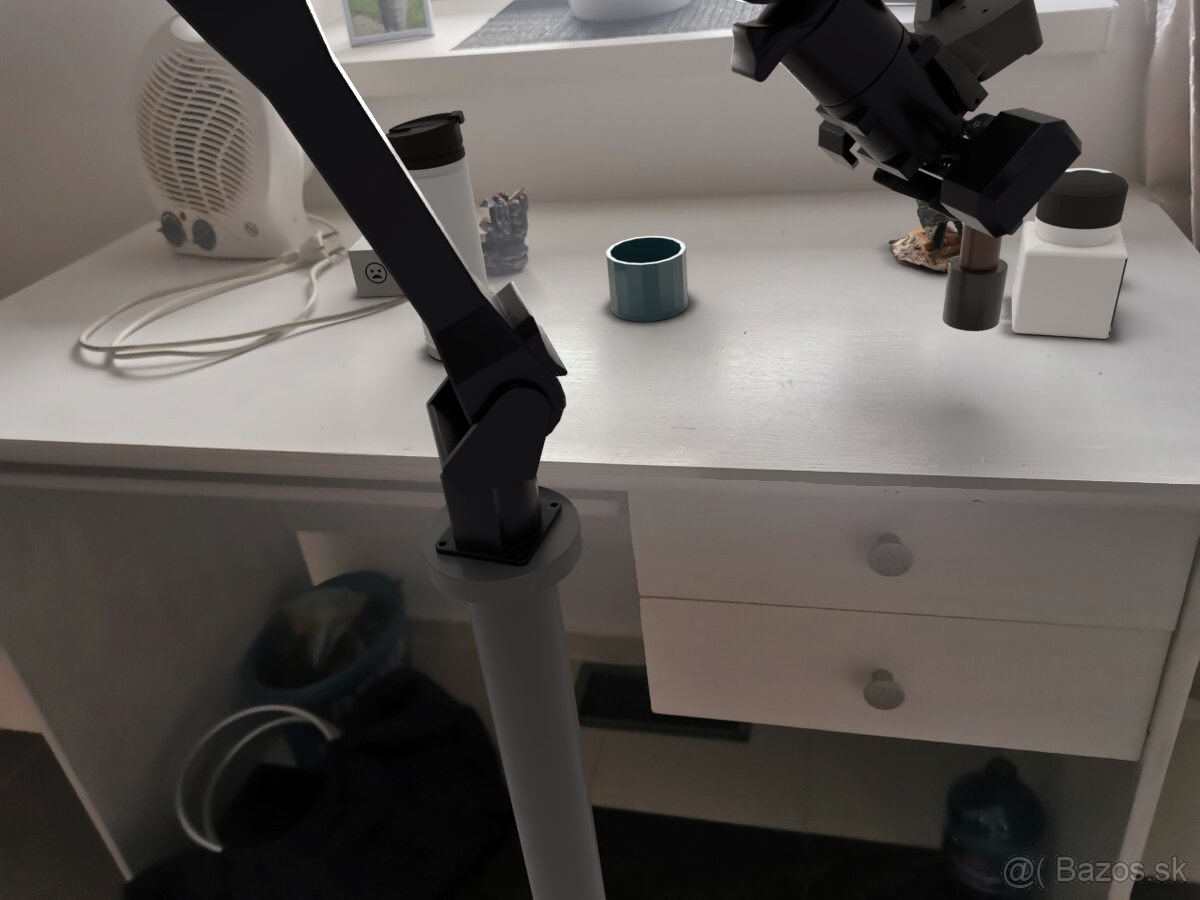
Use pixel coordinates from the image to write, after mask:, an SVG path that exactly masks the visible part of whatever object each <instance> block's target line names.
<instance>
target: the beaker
mask: <svg viewBox="0 0 1200 900" xmlns="http://www.w3.org/2000/svg"><path fill="white" fill-rule="evenodd" d="M605 257H606V267H607V268H606V269H607V279H608V290H609V300H610V309H611V312H612V313H613V315H615V317H618V318H619V319H623V320H626V321H631V322H638V323H639V322H640V323H641V322H643V323H645V322H646V323H647V322H656V321H657V322H658V321H663V320H667V319H670V318H673V317H675V316H678V315H680V314H681V313H683V312H685V310H686V308H687V307H688V304H689V302H688V300H689V289H688V264H687V263H688V262H687V248H686V244H685V243H684V242H683V241H681V240H679V239H677V238H673V237H668V236H663V235H647V236H646V235H645V236H637V237H631V238H628V239H627V238H626V239H624V240H620V241H618V242H616V243H614V244H612V245H610V246H609V248H607V250H606V251H605Z"/></svg>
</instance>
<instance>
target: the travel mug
mask: <svg viewBox="0 0 1200 900" xmlns="http://www.w3.org/2000/svg"><path fill="white" fill-rule="evenodd" d="M465 122H466V118H465V114H464V111H463V110H462V109H461V110H453V111H451V112H440V113H434V114H430V115H425V116H420V117H417V118H414V119H409V120H407V121H405V122H402V123H399V124H397V125H394V126H393V127H391V128H389V129H388V132H387V133H386V134H385V136H386V137H387V139H388V141H389V142H390V144H391V145H392V147H393V148H394V150H395V152H396V153H397V155H398V156H399V158H400V159H401V161H402V163H403V164H404V166H405V167H406V169H407V171H408V172H409V174H410V175H411V177H412V178H413V180H414V182H415V183H416V185H417V186H418V188H419V189H420V191H421V193H422V194H423V196H424V197H425V199H426V200H427V202H428V204H429V205H430V207H431V208H432V210H433V211H434V213H435V215H436V216H437V218H438V219H439V221H440V222H441V224H442V226H443V227H444V229H445V230H446V232H447V233H448V235H449V237H450V238H451V240H452V241H453V243H454V244H455V246H456V248H457V249H458V251H459V252H460V254H461V255H462V257H463V259H464V260H465V262H466V263H467V265H468V267H469V268H470V270H471V271H472V272H473V274H474V275H475V276H476V277H477V278H478V279H479V280H480V281H481V282H482V283H483V284H485V285H486V286H487V287H488V288H489V283H488V275H487V270H486V263H485V257H484V251H483V246H482V240H481V235H480V229H479V223H478V217H477V216H478V215H477V210H476V205H475V198H474V192H473V187H472V180H471V175H470V174H471V173H470V169H469V164H468V163H467V160H468V156H467V153H466V150H465V146H464V144H463V143H464V137H463V133H462V129H461V125H462V124H464V123H465ZM489 289H490V288H489ZM420 319H421V318H420ZM421 324H422V329H423V334H424V337H425V338H424V339H425V342H426V349H427V352H428V354H429V355H430V356H431V358H434V359H435V360H438V361H441V358H440V356H439V354H438V351H437V349H436V346H435V344H434V342H433V339H432V337H431V335H430V332H429V330H428V328H427V326H426V325H425V323H424V322H423V320H422V319H421Z"/></svg>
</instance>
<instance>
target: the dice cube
mask: <svg viewBox="0 0 1200 900" xmlns="http://www.w3.org/2000/svg"><path fill="white" fill-rule="evenodd" d="M347 255H348V259H349V263H350V267H351V271H352V274H353V279H354V283H355V287H356V290H357V294H358V297H359V298H373V297H398V296H399V297H400V296H405V295H404V293H403V292H402V290H401V289H400V287H399V286H398V285H397V283H396V282H395V280H394V279H393V277H392V276H391V275H390V273H389V272H388V270H387V269H386V267H385V266H384V265H383V263H382V262H381V260H380V259H379V257H378V256H377V255H376V253H375V252H374V250H373V249H372V247H371V246H370V245H369V243H368V242H367V240H366V239H365V237H364V236H363V235H361V237H359V238H358V239H357V240H356V242H354V243H353V244H352V246H350V248H348V250H347Z"/></svg>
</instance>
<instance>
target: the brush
mask: <svg viewBox="0 0 1200 900" xmlns="http://www.w3.org/2000/svg"><path fill="white" fill-rule="evenodd" d="M1003 237H1004V236H1001V237H999V238H996V239H995V238H992V237H990V236H988V235H986V234H984V233H982V232H980V231H978V230H976V229H974V228H972V227H970V226H968V225H966V224H964V223H963V235H962V243H961V250H960V256H959V257H956V258H954V259H952V260H951V261H950V263H949V268H948V272H947V277H946V285H945V293H944V302H943V310H942V321H943V323H944V324H945V325H946V326H948V327H950V328H953V329H955V330H959V331H965V332H985V331H990V330H992V329H994V328H995V327H997V326H998V325H999V323H1000V321H1001V320H1000V319H1001V314H1002V306H1003V300H1004V294H1005V288H1006V281H1007V275H1008V269H1009V265H1008V262H1006V261H1005V260H1004V259H1002V258H1000V257H1001V256H1000V255H1001V249H1002V242H1003Z"/></svg>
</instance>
